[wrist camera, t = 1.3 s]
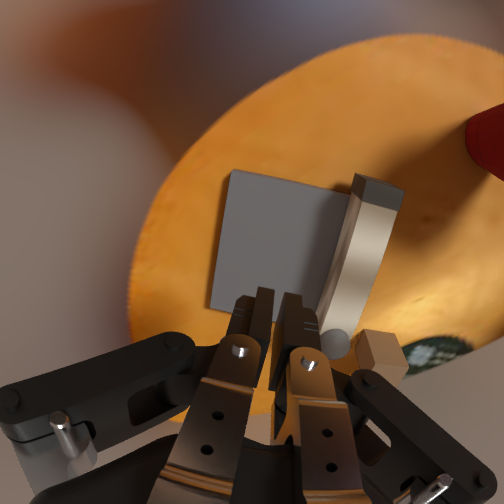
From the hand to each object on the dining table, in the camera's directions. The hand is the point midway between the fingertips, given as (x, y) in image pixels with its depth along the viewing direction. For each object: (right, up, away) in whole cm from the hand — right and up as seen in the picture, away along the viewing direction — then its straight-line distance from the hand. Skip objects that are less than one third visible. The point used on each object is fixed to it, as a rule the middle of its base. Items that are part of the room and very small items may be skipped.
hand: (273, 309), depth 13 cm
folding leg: (+8, +2, +15) cm, 17 cm away
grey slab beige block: (+6, 0, +18) cm, 19 cm away
